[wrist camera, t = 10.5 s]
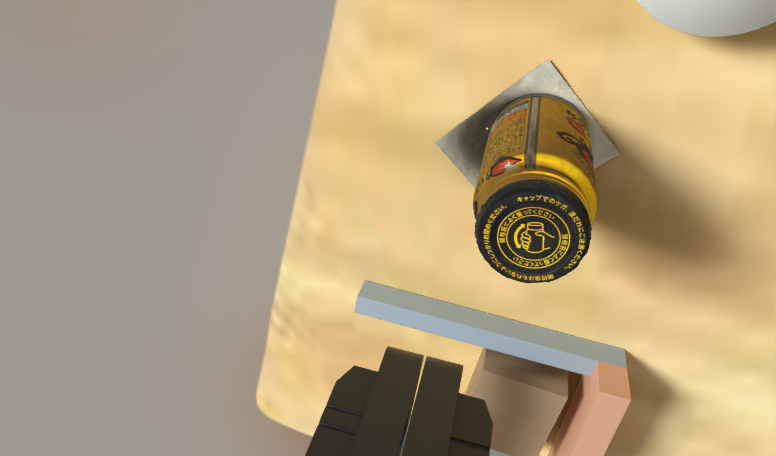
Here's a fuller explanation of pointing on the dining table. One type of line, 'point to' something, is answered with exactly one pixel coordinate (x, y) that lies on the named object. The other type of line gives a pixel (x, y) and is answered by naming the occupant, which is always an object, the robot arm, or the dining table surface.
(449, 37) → the dining table surface
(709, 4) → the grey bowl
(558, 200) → the condiment
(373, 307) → the guide track
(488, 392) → the block
